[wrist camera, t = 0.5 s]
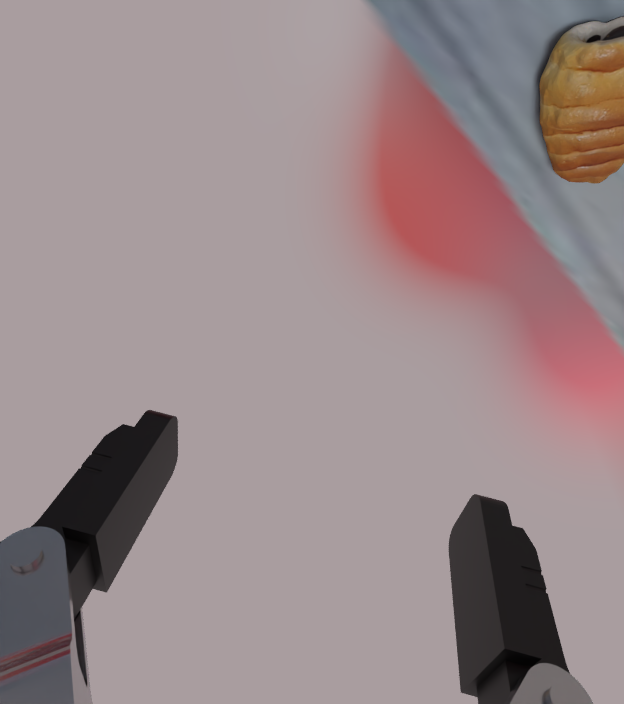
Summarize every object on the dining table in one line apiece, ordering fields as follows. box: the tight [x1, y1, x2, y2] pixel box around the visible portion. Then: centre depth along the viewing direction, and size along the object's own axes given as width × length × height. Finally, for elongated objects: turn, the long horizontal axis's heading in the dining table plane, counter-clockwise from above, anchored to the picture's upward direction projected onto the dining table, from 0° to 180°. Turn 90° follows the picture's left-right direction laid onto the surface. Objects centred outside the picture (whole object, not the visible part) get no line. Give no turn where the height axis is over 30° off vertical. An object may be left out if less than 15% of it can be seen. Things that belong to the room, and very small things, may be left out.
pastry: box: [539, 17, 624, 183], centre depth 27 cm, size 9×7×4 cm
